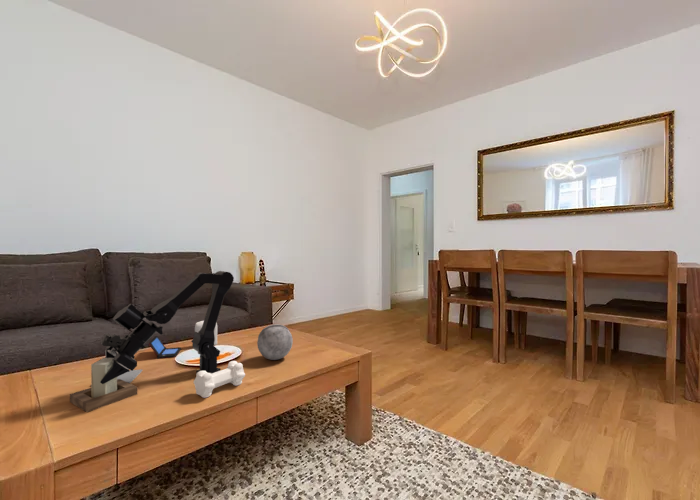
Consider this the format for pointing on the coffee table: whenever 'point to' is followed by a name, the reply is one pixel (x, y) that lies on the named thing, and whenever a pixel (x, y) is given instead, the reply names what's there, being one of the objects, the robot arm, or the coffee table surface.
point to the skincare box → (96, 376)
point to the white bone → (218, 378)
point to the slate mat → (129, 375)
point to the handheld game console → (163, 349)
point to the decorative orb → (275, 341)
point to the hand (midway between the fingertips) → (98, 378)
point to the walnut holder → (89, 404)
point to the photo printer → (199, 326)
